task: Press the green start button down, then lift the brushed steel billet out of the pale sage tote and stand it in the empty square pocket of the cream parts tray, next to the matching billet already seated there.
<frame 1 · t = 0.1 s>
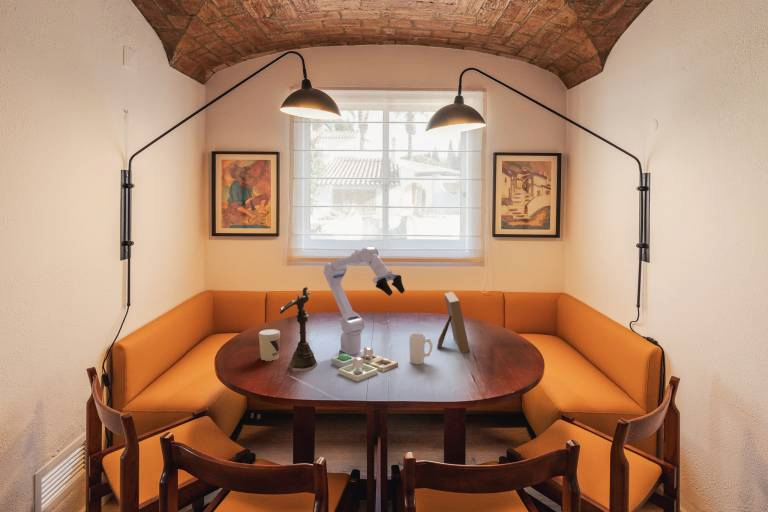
hand: (397, 293, 171), 32 cm above the table, tool tilted 50°, fingers open, 7 cm apart
tote: (358, 374, 166), on the table
button housing: (344, 365, 176), on the table
mug: (420, 362, 181), on the table
cream parts tray: (375, 364, 177), on the table
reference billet: (368, 361, 180), resting in cream parts tray
start button: (344, 358, 176), point 3 cm above the table, slide at 0.0 cm
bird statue: (296, 367, 173), on the table
photo frame: (450, 345, 204), on the table
coffee cup: (269, 358, 184), on the table
billet: (358, 373, 166), point 1 cm above the table, touching tote
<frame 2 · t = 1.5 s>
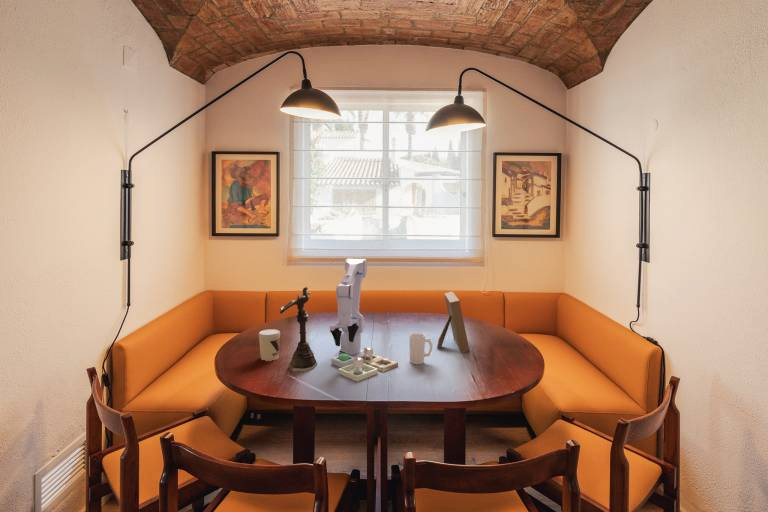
hand: (344, 343, 175), 10 cm above the table, tool pointing down, fingers open, 7 cm apart
nothing on the table moved.
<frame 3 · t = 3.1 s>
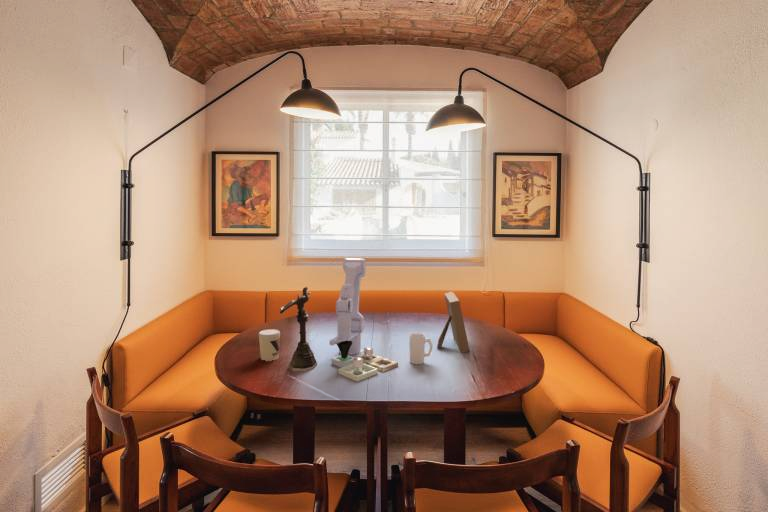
hand: (344, 357, 176), 3 cm above the table, tool pointing down, fingers closed, pressing on start button
start button: (344, 360, 176), point 2 cm above the table, slide at 1.0 cm, touching gripper
everything else where it was.
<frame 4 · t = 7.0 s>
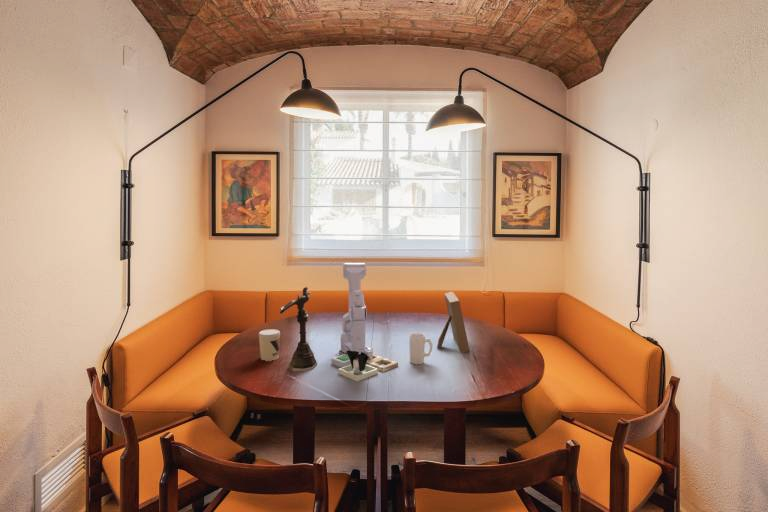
hand: (358, 369, 166), 2 cm above the table, tool pointing down, fingers closed on billet, 4 cm apart
start button: (344, 360, 176), point 2 cm above the table, slide at 1.0 cm
billet: (358, 373, 166), point 1 cm above the table, touching gripper, tote
everything else where it was.
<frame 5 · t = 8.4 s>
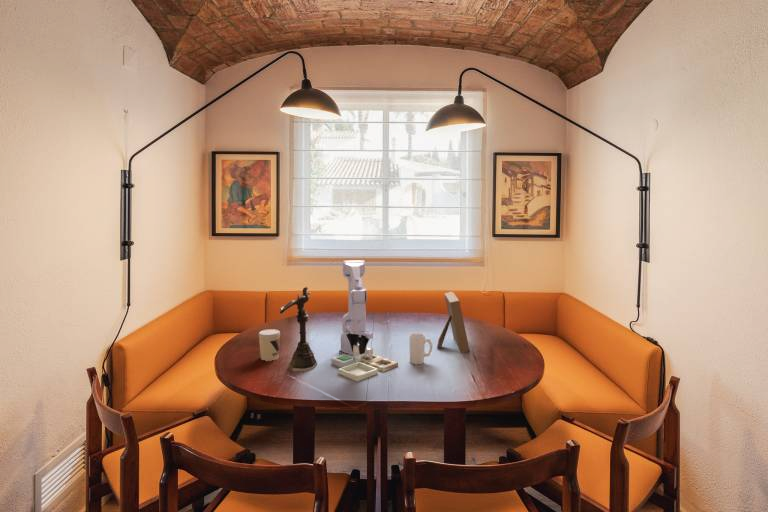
hand: (358, 352, 165), 9 cm above the table, tool pointing down, fingers closed on billet, 4 cm apart
billet: (358, 359, 165), point 7 cm above the table, touching gripper
everything else where it was.
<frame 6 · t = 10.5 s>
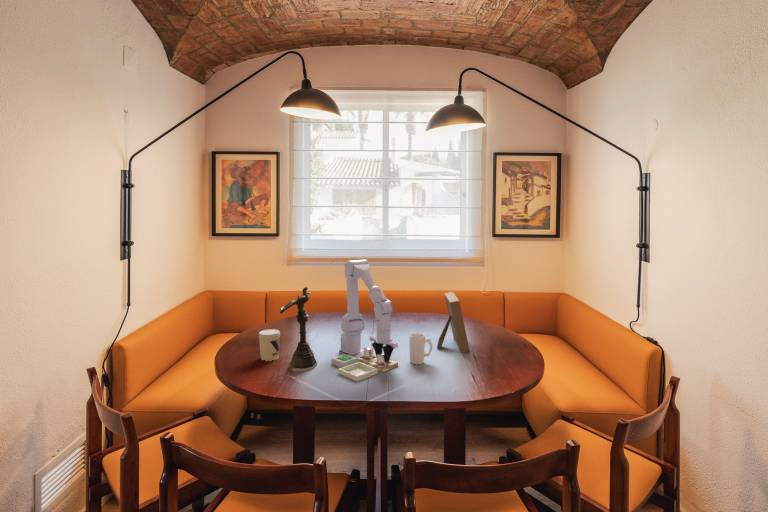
hand: (383, 360, 174), 3 cm above the table, tool pointing down, fingers closed on billet, 4 cm apart
billet: (381, 367, 174), resting in cream parts tray, touching gripper
everything else where it was.
when the fingers open (3 cm above the table, at t = 10.9 s): billet stays where it is, resting in cream parts tray.
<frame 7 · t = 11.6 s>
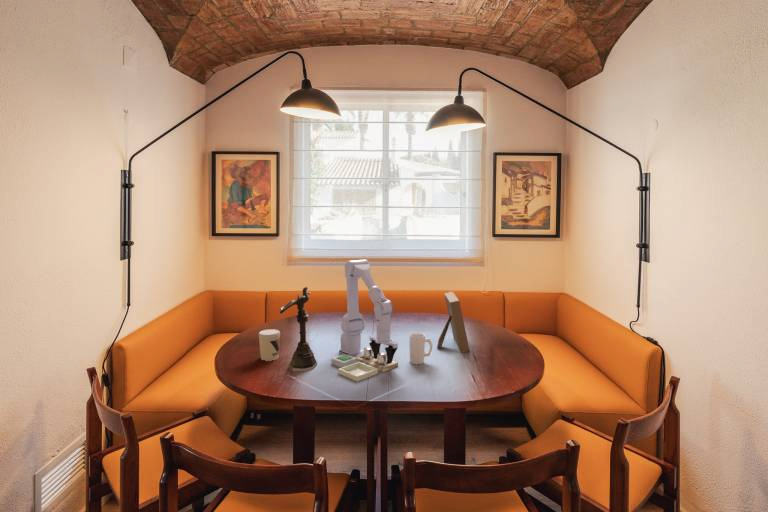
hand: (383, 360, 174), 3 cm above the table, tool pointing down, fingers open, 7 cm apart
billet: (381, 367, 174), resting in cream parts tray
everything else where it was.
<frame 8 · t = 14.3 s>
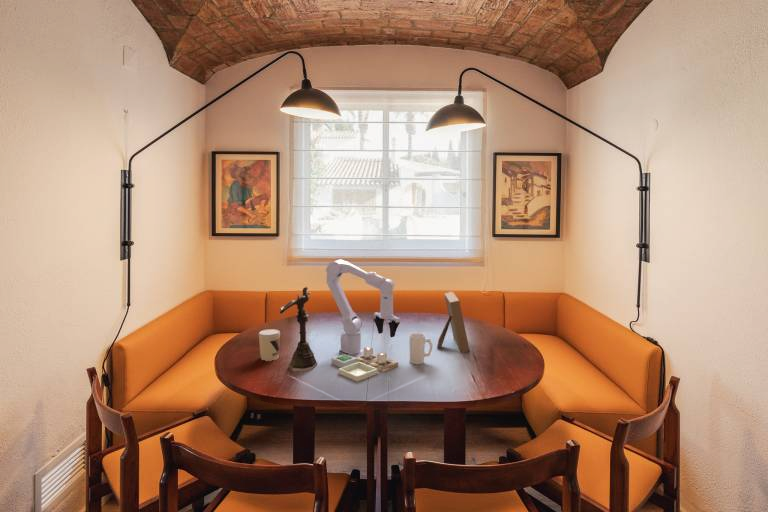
hand: (386, 334, 188), 9 cm above the table, tool pointing down, fingers open, 7 cm apart
nothing on the table moved.
at the end: billet 0.7 cm from the target spot, resting in cream parts tray; billet tilted 0°; start button slide at 1.0 cm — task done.
